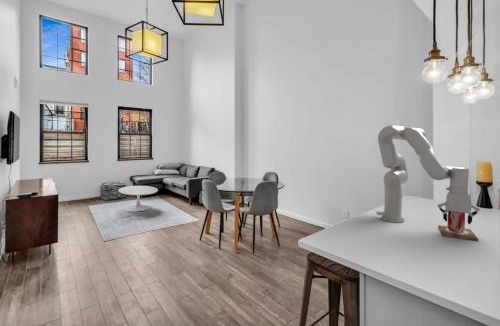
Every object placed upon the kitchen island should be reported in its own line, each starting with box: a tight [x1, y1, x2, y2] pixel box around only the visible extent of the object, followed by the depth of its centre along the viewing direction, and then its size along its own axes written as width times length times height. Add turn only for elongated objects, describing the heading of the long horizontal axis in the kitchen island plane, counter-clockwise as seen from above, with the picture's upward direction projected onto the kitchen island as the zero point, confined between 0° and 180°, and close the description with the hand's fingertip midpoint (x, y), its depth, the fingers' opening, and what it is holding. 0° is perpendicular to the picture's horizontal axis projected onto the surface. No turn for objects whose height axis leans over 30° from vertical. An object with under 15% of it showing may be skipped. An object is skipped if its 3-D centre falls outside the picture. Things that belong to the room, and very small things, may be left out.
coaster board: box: [437, 224, 479, 242], centre depth 132 cm, size 14×16×1 cm
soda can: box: [447, 211, 466, 233], centre depth 132 cm, size 7×7×12 cm
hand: (457, 222), depth 131 cm, fingers open, 9 cm apart
